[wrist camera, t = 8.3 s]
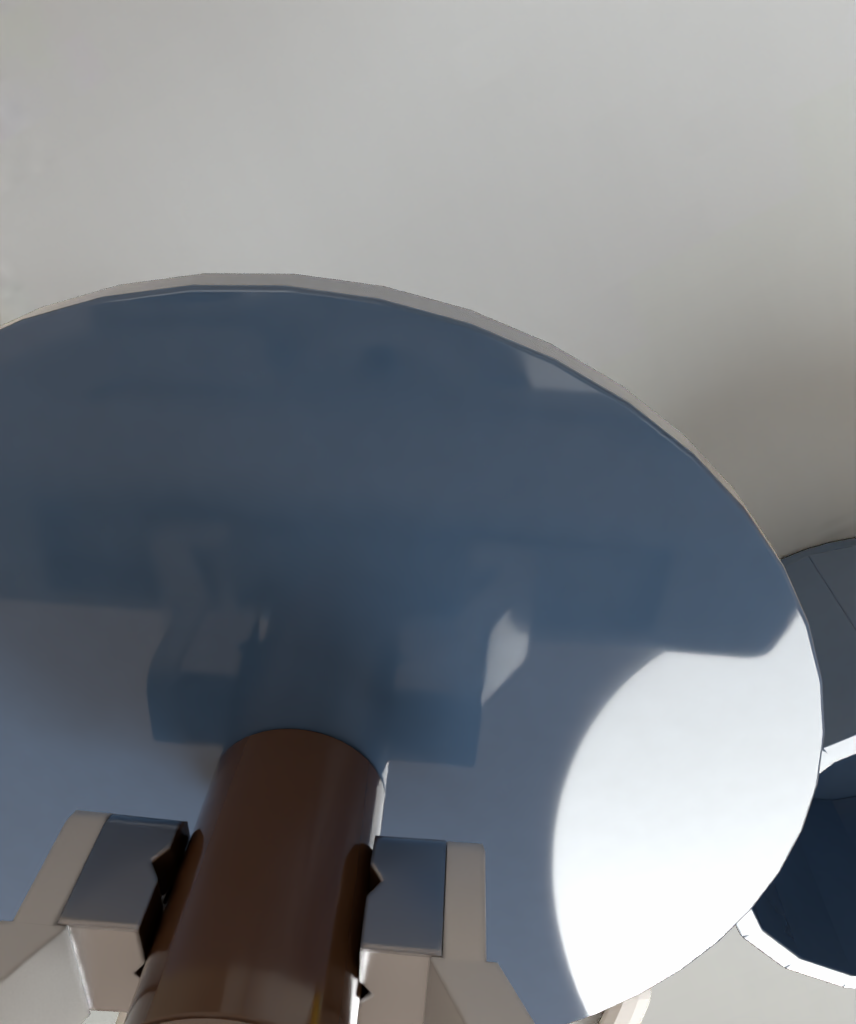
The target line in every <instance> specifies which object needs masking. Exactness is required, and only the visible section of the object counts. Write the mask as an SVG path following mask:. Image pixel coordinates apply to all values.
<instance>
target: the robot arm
mask: <svg viewBox="0 0 856 1024" xmlns="http://www.w3.org/2000/svg"><path fill="white" fill-rule="evenodd" d="M189 840H190V832H189V827H188V821H178V820H169V819H159V818H150V817H140V816H131V815H121V814H114V813H102V812H91V811H80V810H76V811H75V812H74V813H73V814H72V815H71V816H70V817H69V818H68V819H67V821H66V822H65V824H64V826H63V827H62V829H61V831H60V833H59V835H58V837H57V839H56V841H55V842H54V844H53V846H52V848H51V850H50V852H49V854H48V856H47V858H46V859H45V861H44V863H43V865H42V867H41V869H40V871H39V873H38V874H37V876H36V878H35V880H34V882H33V884H32V886H31V888H30V889H29V891H28V893H27V895H26V897H25V899H24V901H23V903H22V904H21V906H20V908H19V910H18V912H17V914H16V916H15V918H14V920H13V921H0V1024H82V1023H83V1022H84V1021H85V1020H86V1019H87V1018H88V1017H89V1016H90V1010H97V1011H114V1012H128V1009H129V1007H130V1004H131V1001H132V998H133V995H134V993H135V990H136V987H137V984H138V982H139V979H140V976H141V973H142V971H143V968H144V965H145V962H146V959H147V957H148V954H149V951H150V948H151V946H152V943H153V940H154V937H155V935H156V932H157V929H158V926H159V923H160V921H161V918H162V915H163V912H164V910H165V907H166V904H167V901H168V898H169V896H170V893H171V890H172V887H173V885H174V882H175V879H176V876H177V874H178V871H179V868H180V865H181V862H182V860H183V857H184V854H185V851H186V849H187V846H188V843H189ZM359 982H361V983H362V992H361V1001H360V1009H359V1017H358V1024H535V1023H534V1021H533V1020H532V1018H531V1016H530V1015H529V1013H528V1012H527V1010H526V1008H525V1007H524V1005H523V1003H522V1002H521V1000H520V999H519V997H518V995H517V994H516V992H515V990H514V989H513V987H512V986H511V984H510V982H509V981H508V979H507V977H506V976H505V974H504V973H503V971H502V969H501V968H500V966H499V964H498V963H495V962H488V961H486V886H485V850H484V847H483V844H477V843H463V842H448V841H447V843H446V840H436V839H421V838H406V837H391V836H376V835H375V839H374V844H373V851H372V858H371V868H370V890H369V894H368V895H367V896H366V904H365V912H364V921H363V929H362V937H361V945H360V965H359Z"/></svg>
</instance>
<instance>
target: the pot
mask: <svg viewBox="0 0 856 1024" xmlns="http://www.w3.org/2000/svg"><path fill="white" fill-rule="evenodd" d="M781 562H782V563H783V565H784V568H785V570H786V572H787V574H788V577H789V579H790V581H791V583H792V586H793V588H794V590H795V592H796V595H797V597H798V599H799V601H800V603H801V606H802V608H803V610H804V612H805V615H806V617H807V619H808V621H809V625H810V629H811V634H812V638H813V642H814V646H815V650H816V654H817V658H818V662H819V667H820V671H821V675H822V684H823V704H824V724H825V735H824V742H823V749H822V756H821V764H820V771H819V778H818V784H817V787H816V790H815V793H814V796H813V799H812V802H811V805H810V808H809V811H808V814H807V817H806V820H805V823H804V826H803V829H802V831H801V833H800V835H799V837H798V839H797V841H796V843H795V844H794V846H793V848H792V850H791V852H790V854H789V856H788V857H787V859H786V861H785V863H784V865H783V867H782V869H781V870H780V872H779V873H778V875H777V876H776V877H775V879H774V880H773V881H772V883H771V884H770V885H769V886H768V888H767V889H766V890H765V892H764V893H763V894H762V896H761V897H760V898H759V900H758V901H757V902H756V904H755V905H754V906H753V907H752V909H751V910H750V911H749V912H748V913H747V914H746V915H745V916H744V917H743V918H742V919H741V920H740V921H739V922H738V923H737V924H736V925H735V926H736V928H737V930H738V932H739V933H740V935H741V936H742V937H743V938H744V939H745V940H747V941H748V942H749V943H751V944H752V945H753V946H755V947H756V948H758V949H759V950H760V951H762V952H763V953H764V954H766V955H767V956H768V957H770V958H771V959H772V960H774V961H775V962H777V963H778V964H779V965H781V966H782V967H784V968H786V969H789V970H792V971H795V972H798V973H801V974H804V975H807V976H810V977H813V978H816V979H819V980H822V981H825V982H829V983H832V984H835V985H838V986H842V987H844V988H856V538H851V539H846V540H841V541H836V542H830V543H827V544H823V545H820V546H817V547H813V548H810V549H806V550H803V551H801V552H798V553H796V554H793V555H791V556H788V557H786V558H783V559H781Z"/></svg>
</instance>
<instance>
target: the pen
mask: <svg viewBox="0 0 856 1024" xmlns="http://www.w3.org/2000/svg"><path fill="white" fill-rule="evenodd" d="M650 999H651V988H650V989H648V990H646V991H644V992H643V993H641V994H639V995H637V996H635V997H633V998H631V999H628V1000H626V1001H624V1002H622V1003H620V1004H618V1005H615V1006H613V1007H611V1008H609V1009H607V1010H605V1011H604V1013H603V1015H602V1017H601V1020H600V1022H599V1024H640V1023H641V1021H642V1019H643V1017H644V1015H645V1012H646V1010H647V1007H648V1005H649V1002H650Z"/></svg>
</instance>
